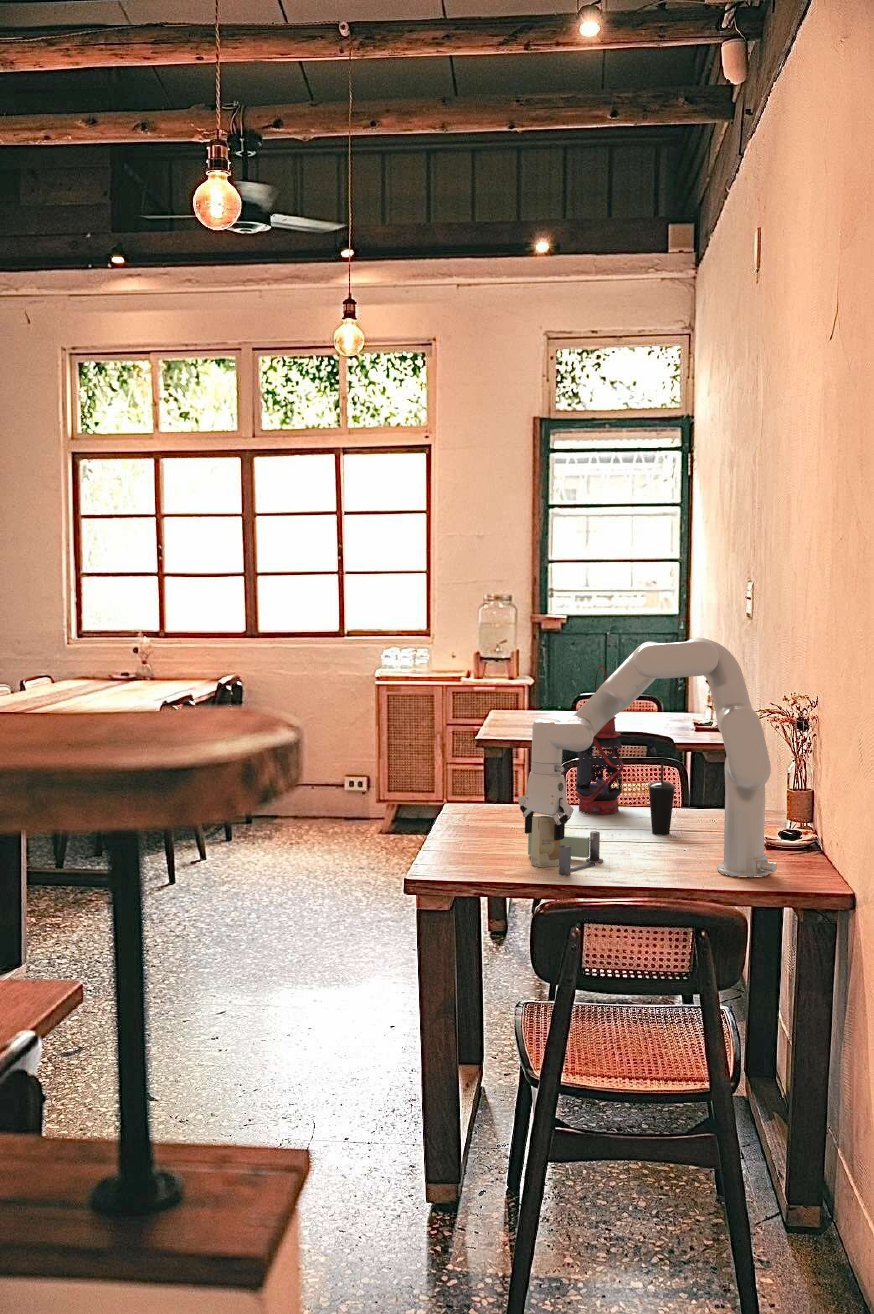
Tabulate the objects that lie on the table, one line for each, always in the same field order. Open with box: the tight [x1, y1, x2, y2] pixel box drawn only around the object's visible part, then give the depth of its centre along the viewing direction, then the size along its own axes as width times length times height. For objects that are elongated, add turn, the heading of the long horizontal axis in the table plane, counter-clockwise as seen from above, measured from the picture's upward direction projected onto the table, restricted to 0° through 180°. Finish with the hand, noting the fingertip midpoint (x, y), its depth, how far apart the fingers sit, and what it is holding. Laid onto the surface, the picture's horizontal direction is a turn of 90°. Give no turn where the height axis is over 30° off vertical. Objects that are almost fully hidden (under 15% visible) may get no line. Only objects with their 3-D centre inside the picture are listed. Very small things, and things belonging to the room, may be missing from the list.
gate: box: [527, 833, 590, 859], centre depth 312 cm, size 16×2×7 cm, turn 69°
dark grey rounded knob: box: [585, 830, 604, 864], centre depth 308 cm, size 4×4×8 cm
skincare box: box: [530, 815, 560, 868], centre depth 304 cm, size 6×4×12 cm
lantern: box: [575, 664, 625, 816], centre depth 372 cm, size 16×15×45 cm
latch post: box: [558, 845, 596, 877], centre depth 299 cm, size 3×14×7 cm, turn 134°
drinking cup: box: [647, 762, 677, 836], centre depth 342 cm, size 8×8×20 cm
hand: (544, 836), depth 304 cm, fingers open, 9 cm apart
